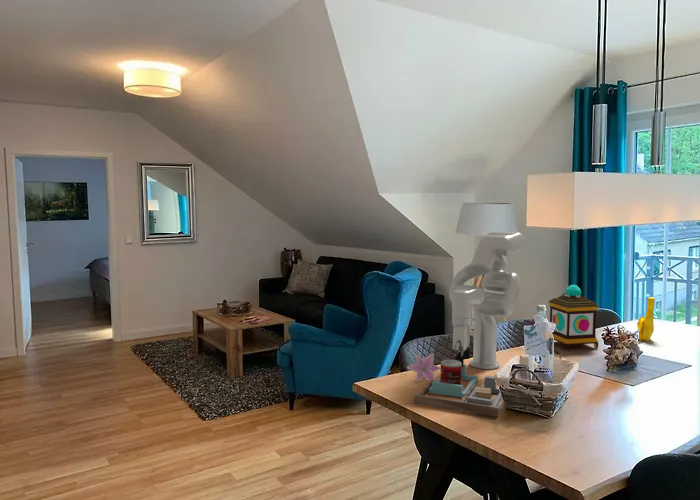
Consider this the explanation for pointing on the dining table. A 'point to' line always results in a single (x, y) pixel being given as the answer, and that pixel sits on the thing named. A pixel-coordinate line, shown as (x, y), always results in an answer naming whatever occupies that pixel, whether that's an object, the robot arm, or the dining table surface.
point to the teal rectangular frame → (453, 386)
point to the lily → (424, 367)
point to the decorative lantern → (574, 318)
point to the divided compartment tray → (457, 403)
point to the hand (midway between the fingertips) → (462, 362)
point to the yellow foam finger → (647, 321)
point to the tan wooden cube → (483, 393)
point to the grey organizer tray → (487, 384)
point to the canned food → (451, 372)
